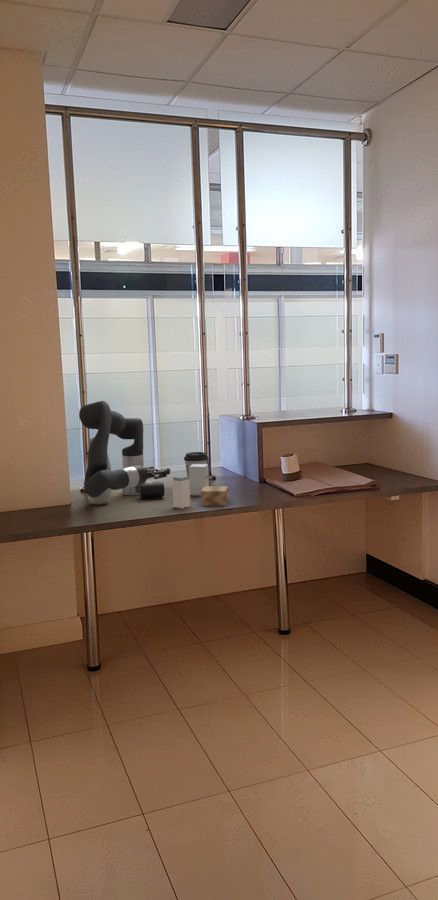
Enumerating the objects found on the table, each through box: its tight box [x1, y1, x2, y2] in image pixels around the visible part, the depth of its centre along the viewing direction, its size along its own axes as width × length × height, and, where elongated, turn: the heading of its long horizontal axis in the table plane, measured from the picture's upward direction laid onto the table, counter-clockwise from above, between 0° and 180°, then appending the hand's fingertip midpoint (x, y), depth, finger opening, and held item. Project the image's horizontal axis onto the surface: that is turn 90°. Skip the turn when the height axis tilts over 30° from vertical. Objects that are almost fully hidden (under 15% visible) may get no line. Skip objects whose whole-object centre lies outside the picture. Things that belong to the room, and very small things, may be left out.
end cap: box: [139, 481, 166, 500], centre depth 301 cm, size 10×7×7 cm
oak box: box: [200, 485, 229, 506], centre depth 290 cm, size 10×10×6 cm
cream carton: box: [172, 474, 191, 509], centre depth 284 cm, size 5×5×12 cm
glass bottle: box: [84, 437, 112, 506], centre depth 291 cm, size 10×10×28 cm
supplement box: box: [189, 463, 210, 496], centre depth 307 cm, size 7×7×13 cm
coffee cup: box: [183, 451, 209, 476], centre depth 324 cm, size 11×11×15 cm
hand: (161, 470), depth 274 cm, fingers open, 8 cm apart
